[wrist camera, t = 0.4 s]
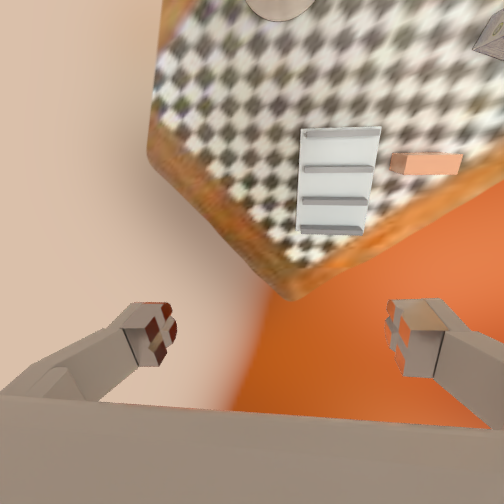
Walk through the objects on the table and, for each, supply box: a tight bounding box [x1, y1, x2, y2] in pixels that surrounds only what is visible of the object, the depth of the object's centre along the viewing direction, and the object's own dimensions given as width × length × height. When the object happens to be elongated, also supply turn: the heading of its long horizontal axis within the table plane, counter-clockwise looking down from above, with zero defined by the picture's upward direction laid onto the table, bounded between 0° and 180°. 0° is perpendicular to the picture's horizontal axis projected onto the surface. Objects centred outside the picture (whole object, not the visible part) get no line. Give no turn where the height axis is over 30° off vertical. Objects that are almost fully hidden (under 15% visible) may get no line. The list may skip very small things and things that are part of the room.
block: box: [389, 152, 463, 175], centre depth 43 cm, size 3×8×7 cm, turn 92°
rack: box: [296, 126, 382, 236], centre depth 48 cm, size 20×14×4 cm
